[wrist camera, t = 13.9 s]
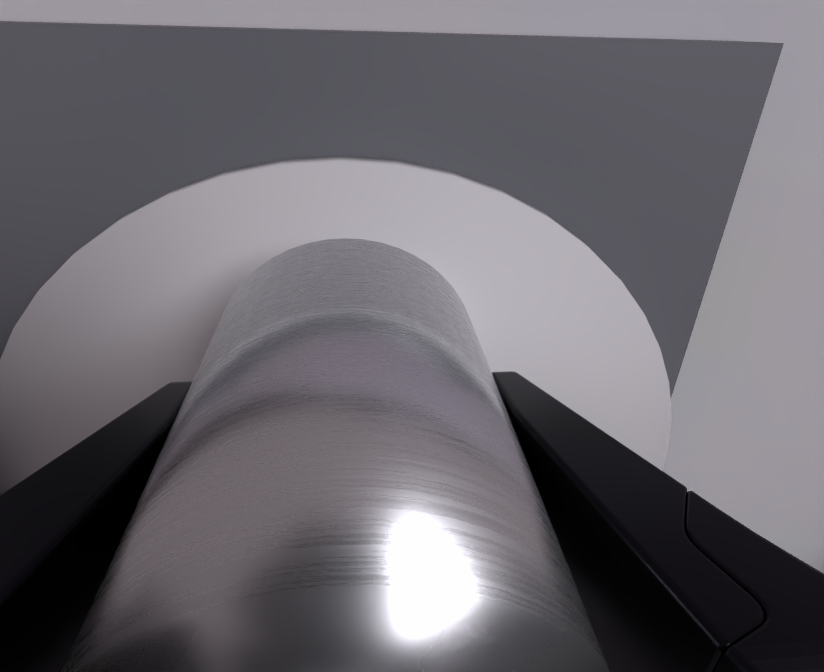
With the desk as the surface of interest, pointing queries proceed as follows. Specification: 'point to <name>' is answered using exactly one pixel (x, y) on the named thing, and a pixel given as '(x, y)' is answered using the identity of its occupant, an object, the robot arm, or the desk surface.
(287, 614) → the cylinder
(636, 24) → the desk surface
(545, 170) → the scale
